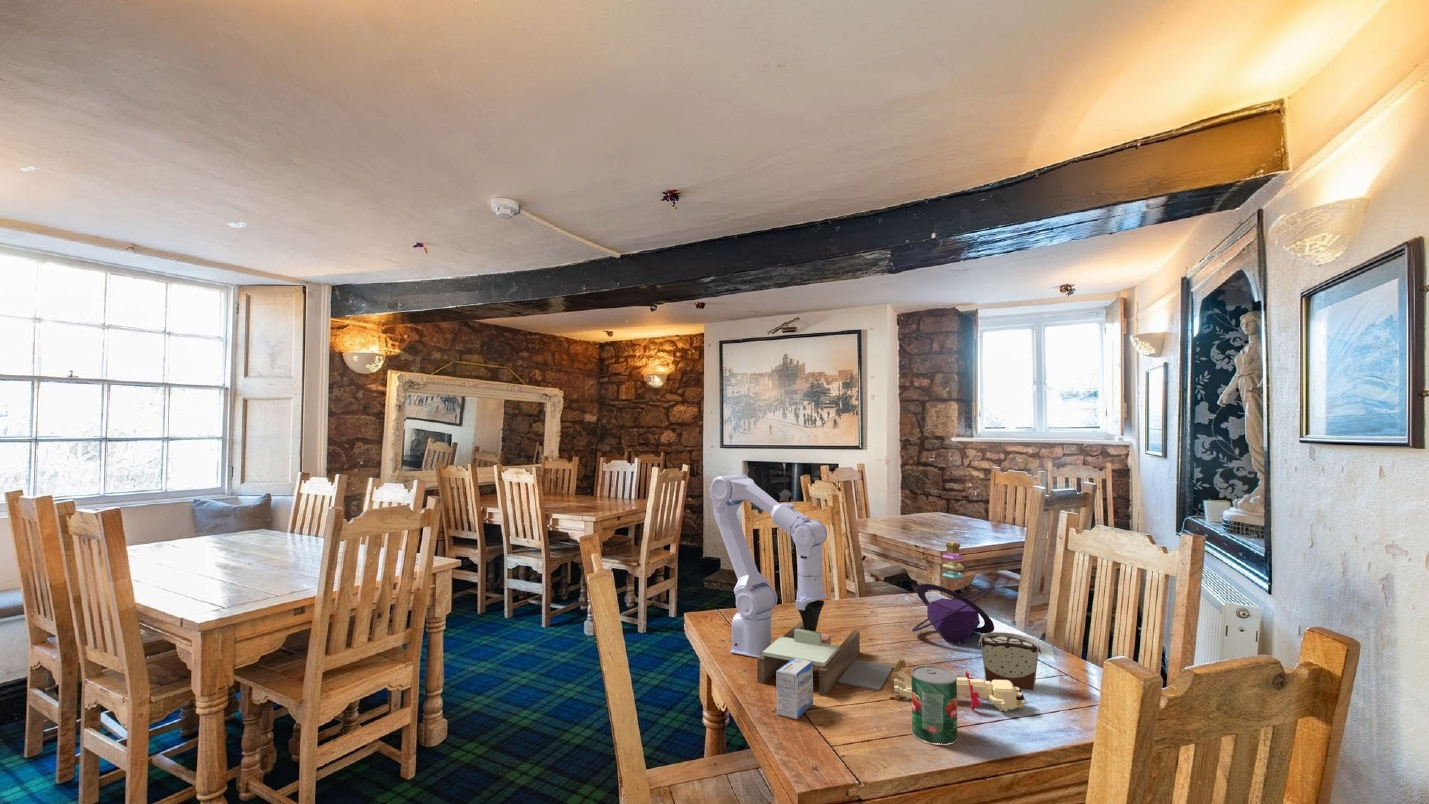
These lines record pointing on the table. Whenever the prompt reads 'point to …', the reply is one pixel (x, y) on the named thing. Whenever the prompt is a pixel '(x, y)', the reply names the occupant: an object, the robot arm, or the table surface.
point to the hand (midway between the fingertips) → (810, 633)
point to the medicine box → (794, 688)
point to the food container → (1010, 659)
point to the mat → (866, 675)
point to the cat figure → (970, 689)
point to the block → (826, 639)
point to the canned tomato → (934, 704)
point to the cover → (802, 648)
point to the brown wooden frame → (826, 674)
